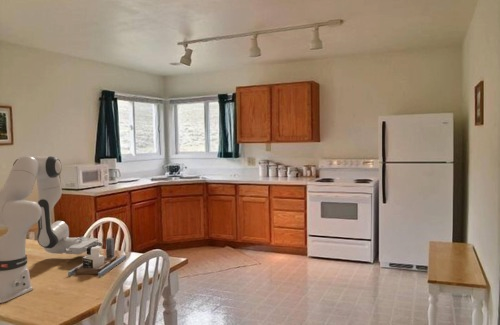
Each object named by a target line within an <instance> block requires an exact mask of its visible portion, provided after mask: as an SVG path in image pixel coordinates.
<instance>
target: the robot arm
mask: <svg viewBox="0 0 500 325" xmlns="http://www.w3.org/2000/svg"><path fill="white" fill-rule="evenodd" d="M61 172H62V162H61V160H60V159H59V158H58V157H56V156H37V155H35V156H30V155H23V156H20V157H18V158H17V159H16V160H15V161H14V162H13V165H12V167H11V169H10V171H9V174H8V176H7V179H6V181H5V182H4V185H2V188H1V189H0V227H7V232H5V233H4V234H3V235H1V236H0V304H1V303H2V304H3V303H5V302H8V301H11V300H12V299H15V298H17V297H20V296H21V295H23V294H27V293H29V292H31V291H33V290H34V286H33V285H32V281H31V277H30V276H31V275H30V270H29V269H28V266H27V264H28V256H27V254H26V240H27V235H28V233H29V231H30V229H32V227H33V226H34V225H36V224H37V228H38V229H37V230H38V232H37V235H36V240H37V243H38V244H39V246H40V247H42V248H43V249H44V251H45V252H46V253H49V254H55V255H63V254H66V255H82V254H84V253H87V248H88V247H89V246H99V247H102V246H103V245H104V242H103V241H99V239H98V238H96V237H85V236H79V237H70V227H69V225H68V223H67V222H65V221H63V220H56V221H55V222H53V223H52V211H53V209H54V207H55V206H56V205H57V203H58V202H59V200H60V199H61V197H62V193H63V190H62V183H61V178H60V174H61ZM35 183H36V186H37V191H38V192H37V193H38V197H37V198H38V200H37V201H34V200H28V199H27V198H29V197H30V195H31V194H32V193H33V189H34V186H35ZM25 199H27V200H25Z"/></svg>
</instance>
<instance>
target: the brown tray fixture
mask: <svg viewBox="0 0 500 325" xmlns="http://www.w3.org/2000/svg"><path fill="white" fill-rule="evenodd" d="M105 249H106V252H105V253H106V255H105V256H104V265H102V266H101V267H99V268H83V264H82V263H81V264H82V265H81V264H79V265H80V266H79V265H77V266H78V267H77V266H76V267H77V268H76V267H74V268H75V274H84V275H85V274H86V275H87V274H88V275H91V274H92V275H98V272H100V271H101V270H103V269H104V268H106V267H107V266H109V265H110V264H112V263H113V262H114V261H116V260H117V259H118V255H115V238H114V237H108V238H105Z"/></svg>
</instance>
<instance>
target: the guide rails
mask: <svg viewBox="0 0 500 325" xmlns="http://www.w3.org/2000/svg"><path fill="white" fill-rule="evenodd" d="M99 255H101V253H100V254H99ZM124 259H125V260H126V259H127V255H126V254H123V255H122V256H120V257H119V258H116V259H115V260H113V261H112V262H111V264H110V265H109V266H107V267H106V268H104V269H103V270H101V271H100V272H98V274H97V278H101V277H102V276H103V277H104V275H106V274H107V273H109V271H111V270H112V269H114V268H115V267H116V265H117V266H118V265H119V264H121V263H122V262H124V261H125V260H124ZM123 260H124V261H123ZM120 262H121V263H120ZM82 264H83V262H82V263H81V264H79V265H77V266H75V267H74V268H72V269H71V270H69V271H67V274H68V275H67V277H72V276H73V275H75V274H76V273H75V268H77V267H78V266H80V265H82Z"/></svg>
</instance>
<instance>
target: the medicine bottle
mask: <svg viewBox="0 0 500 325" xmlns="http://www.w3.org/2000/svg"><path fill="white" fill-rule="evenodd" d="M100 248H101V246H99V245H97V246H89V247H88V248H87V251H86V255H85V256H83V257H82V263H83V268H99V267H101V266H102V265H104V257H105V256H104V255H103V254H101V253H100V252H101V250H100ZM99 254H100V255H99Z"/></svg>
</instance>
